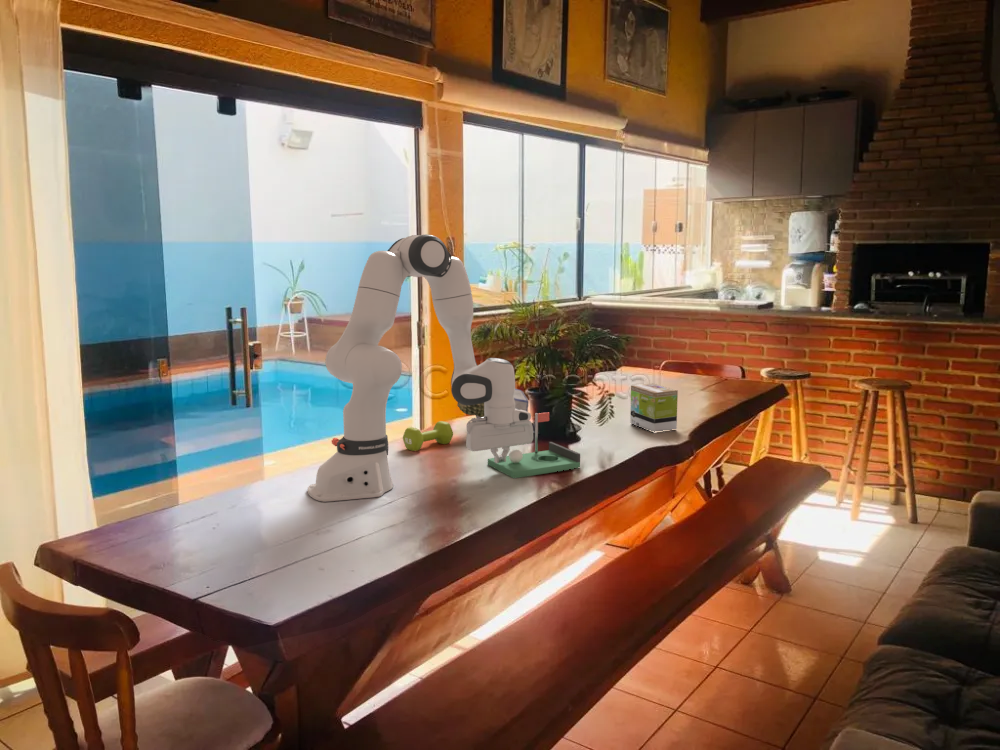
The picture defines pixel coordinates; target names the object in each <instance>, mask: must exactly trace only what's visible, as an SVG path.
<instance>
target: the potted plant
mask: <svg viewBox="0 0 1000 750" xmlns="http://www.w3.org/2000/svg"><path fill="white" fill-rule="evenodd" d="M514 401H515V408H518V409H521V410H524V411H527V412H529V405H530V404H529V399H528V397H527V396H526V394H525V392H524V391H523V390H522V389H518V388H515V392H514ZM456 407H458V408H459V411H461V412H462V413H464V414H466V415H469V416H475V418H480V417H484V403H480V404H475V405H462V404H460V403H458V402H457V405H456Z"/></svg>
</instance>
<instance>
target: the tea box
mask: <svg viewBox="0 0 1000 750" xmlns="http://www.w3.org/2000/svg"><path fill="white" fill-rule="evenodd" d="M678 395H679V391H678V390H677V389H674V388H670V387H667V386H663V385H660V384H657V383H652V382H651V383H644V384H636V385H630V415H629V416H630V419H629V421H630V422H629V423H631V424H634V425H637V426H639V427H642V428H645V429H648V430H651V431H654V432H655V431H663V430H672V429H678V427H677V426H678V422H677V421H678ZM631 424H630V425H631ZM634 425H633V426H634ZM637 426H636V427H637ZM639 427H638V428H639ZM642 428H641V429H642Z"/></svg>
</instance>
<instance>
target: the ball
mask: <svg viewBox="0 0 1000 750" xmlns="http://www.w3.org/2000/svg"><path fill="white" fill-rule="evenodd" d="M522 454H523V453H522V451H521V450H520V449H512V450H511V451H509V452H508V456H509V459H510V461H511V462H513V463H519V462H520V461H521V460H522V458H523V455H522Z"/></svg>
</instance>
